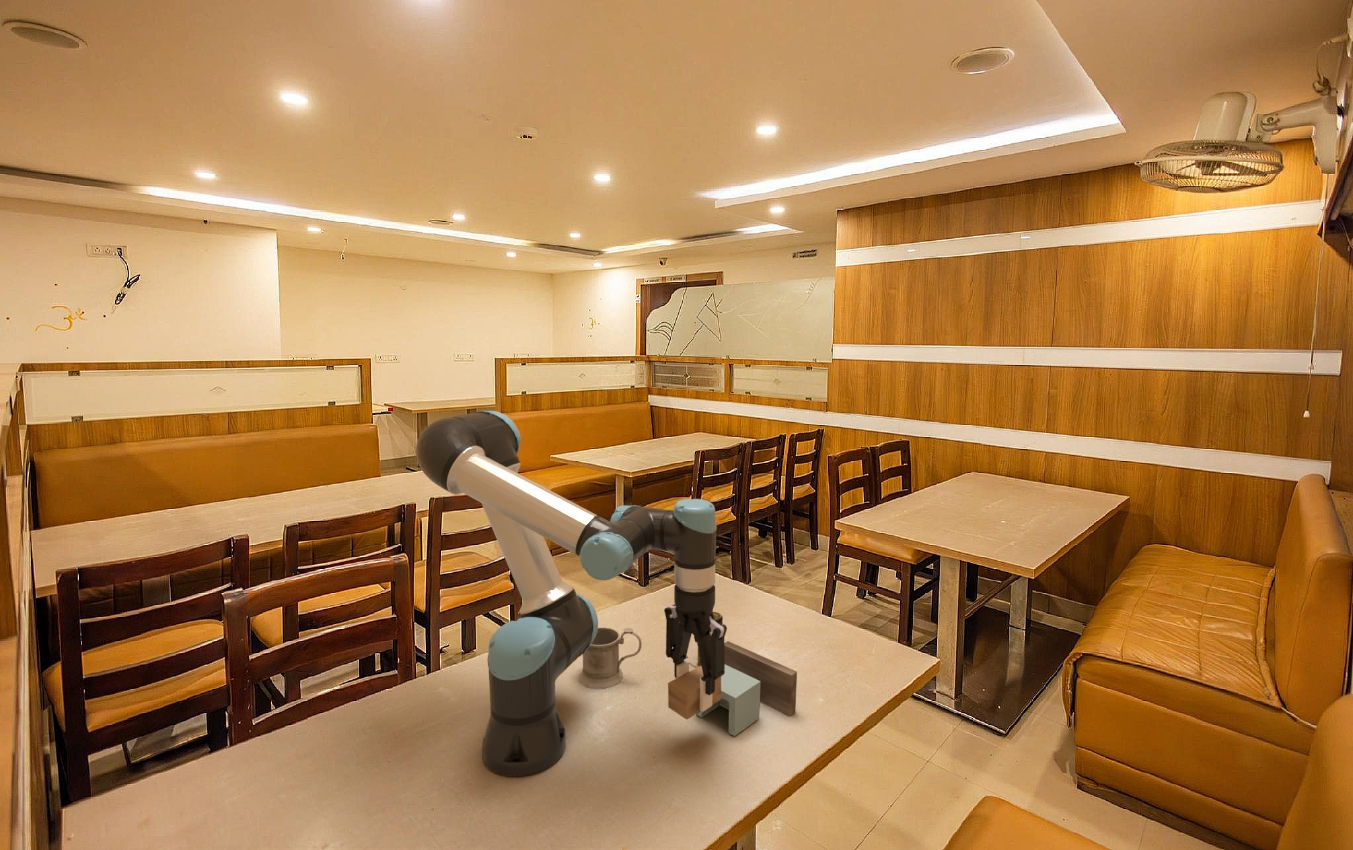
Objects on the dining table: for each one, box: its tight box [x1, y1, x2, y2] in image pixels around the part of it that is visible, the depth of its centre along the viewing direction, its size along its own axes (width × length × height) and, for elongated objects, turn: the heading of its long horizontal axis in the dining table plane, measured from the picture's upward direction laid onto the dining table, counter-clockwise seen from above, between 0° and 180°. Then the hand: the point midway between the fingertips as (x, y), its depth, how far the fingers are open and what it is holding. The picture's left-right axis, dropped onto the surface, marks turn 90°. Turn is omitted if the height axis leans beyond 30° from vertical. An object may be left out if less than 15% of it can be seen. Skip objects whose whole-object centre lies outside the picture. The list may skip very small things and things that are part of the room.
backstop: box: [724, 640, 798, 717], centre depth 134 cm, size 2×18×9 cm, turn 46°
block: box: [695, 665, 761, 737], centre depth 127 cm, size 8×10×8 cm
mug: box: [578, 627, 642, 690], centre depth 141 cm, size 14×10×12 cm
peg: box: [667, 666, 721, 720], centre depth 119 cm, size 9×5×5 cm, turn 132°
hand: (694, 701), depth 119 cm, fingers closed on peg, 5 cm apart
